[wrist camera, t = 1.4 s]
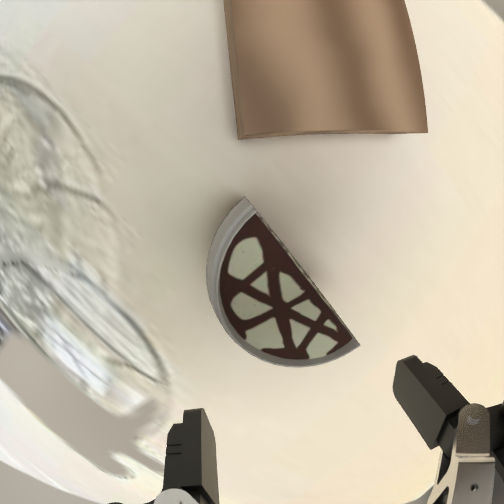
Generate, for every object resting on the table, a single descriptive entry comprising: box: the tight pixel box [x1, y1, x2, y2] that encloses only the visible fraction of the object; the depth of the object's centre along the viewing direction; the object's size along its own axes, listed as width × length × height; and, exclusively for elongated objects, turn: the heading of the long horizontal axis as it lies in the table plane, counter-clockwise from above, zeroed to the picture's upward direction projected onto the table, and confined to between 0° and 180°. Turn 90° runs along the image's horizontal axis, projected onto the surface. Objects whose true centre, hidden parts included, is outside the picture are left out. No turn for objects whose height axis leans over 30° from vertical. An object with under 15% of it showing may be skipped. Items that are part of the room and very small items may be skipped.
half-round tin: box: [206, 197, 360, 367], centre depth 22 cm, size 12×6×10 cm, turn 38°
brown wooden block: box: [223, 0, 428, 140], centre depth 18 cm, size 14×18×6 cm
